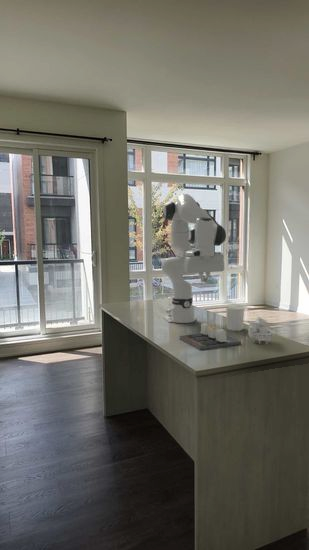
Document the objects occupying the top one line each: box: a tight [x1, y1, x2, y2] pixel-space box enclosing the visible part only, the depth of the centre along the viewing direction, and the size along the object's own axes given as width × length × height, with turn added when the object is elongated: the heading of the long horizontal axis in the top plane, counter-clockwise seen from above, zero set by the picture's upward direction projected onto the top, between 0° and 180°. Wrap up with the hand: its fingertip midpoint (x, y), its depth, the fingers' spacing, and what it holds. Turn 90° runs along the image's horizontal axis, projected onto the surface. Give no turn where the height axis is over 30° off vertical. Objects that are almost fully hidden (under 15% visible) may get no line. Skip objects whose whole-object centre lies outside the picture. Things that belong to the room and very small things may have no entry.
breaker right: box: [216, 328, 227, 342], centre depth 164 cm, size 4×3×5 cm
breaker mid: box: [208, 325, 219, 338], centre depth 170 cm, size 4×3×5 cm
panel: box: [179, 332, 242, 351], centre depth 170 cm, size 20×22×2 cm
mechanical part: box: [247, 316, 276, 345], centre depth 168 cm, size 11×12×12 cm
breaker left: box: [200, 322, 211, 335], centre depth 177 cm, size 4×3×5 cm
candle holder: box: [225, 305, 245, 332], centre depth 194 cm, size 10×10×12 cm
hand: (204, 281), depth 166 cm, fingers closed
